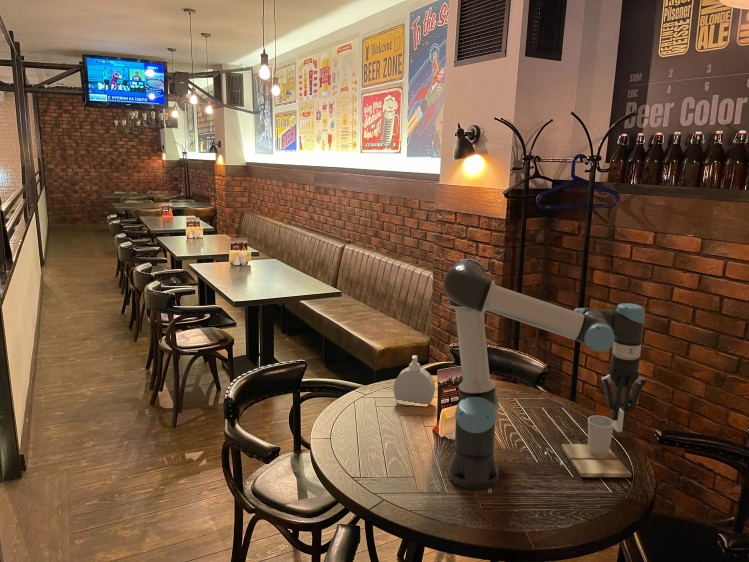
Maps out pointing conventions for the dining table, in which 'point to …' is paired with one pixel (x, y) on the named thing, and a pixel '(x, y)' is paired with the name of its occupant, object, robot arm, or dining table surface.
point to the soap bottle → (414, 384)
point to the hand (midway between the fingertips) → (617, 429)
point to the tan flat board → (583, 453)
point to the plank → (600, 468)
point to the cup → (599, 435)
